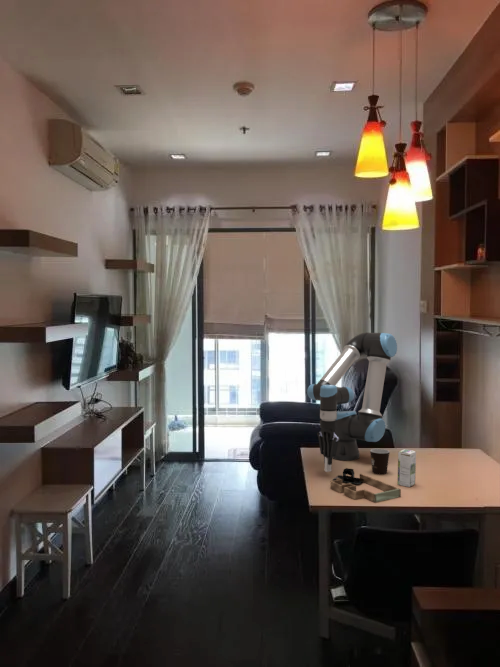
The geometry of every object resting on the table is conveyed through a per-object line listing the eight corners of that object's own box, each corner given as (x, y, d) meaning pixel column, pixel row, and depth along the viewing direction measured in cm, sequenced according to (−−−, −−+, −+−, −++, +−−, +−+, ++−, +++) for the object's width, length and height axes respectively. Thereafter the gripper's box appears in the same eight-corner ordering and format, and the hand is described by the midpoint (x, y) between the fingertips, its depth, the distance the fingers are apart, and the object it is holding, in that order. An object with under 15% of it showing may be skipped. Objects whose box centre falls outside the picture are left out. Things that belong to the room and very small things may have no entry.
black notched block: (332, 480, 236) (331, 469, 236) (339, 476, 242) (338, 465, 242) (359, 483, 229) (358, 473, 229) (365, 479, 235) (365, 468, 235)
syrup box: (402, 481, 235) (403, 448, 234) (415, 484, 231) (416, 450, 231) (397, 484, 230) (397, 451, 230) (410, 487, 227) (410, 453, 226)
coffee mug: (389, 475, 243) (389, 453, 243) (370, 474, 245) (370, 452, 245) (388, 468, 255) (388, 447, 254) (369, 467, 256) (369, 446, 256)
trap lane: (327, 486, 228) (327, 479, 228) (360, 480, 237) (361, 473, 237) (365, 504, 207) (365, 496, 207) (400, 496, 216) (400, 489, 216)
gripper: (312, 418, 246) (312, 469, 247) (331, 422, 235) (331, 476, 236) (324, 416, 250) (324, 466, 251) (344, 420, 240) (344, 473, 240)
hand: (328, 471), depth 244 cm, fingers closed
